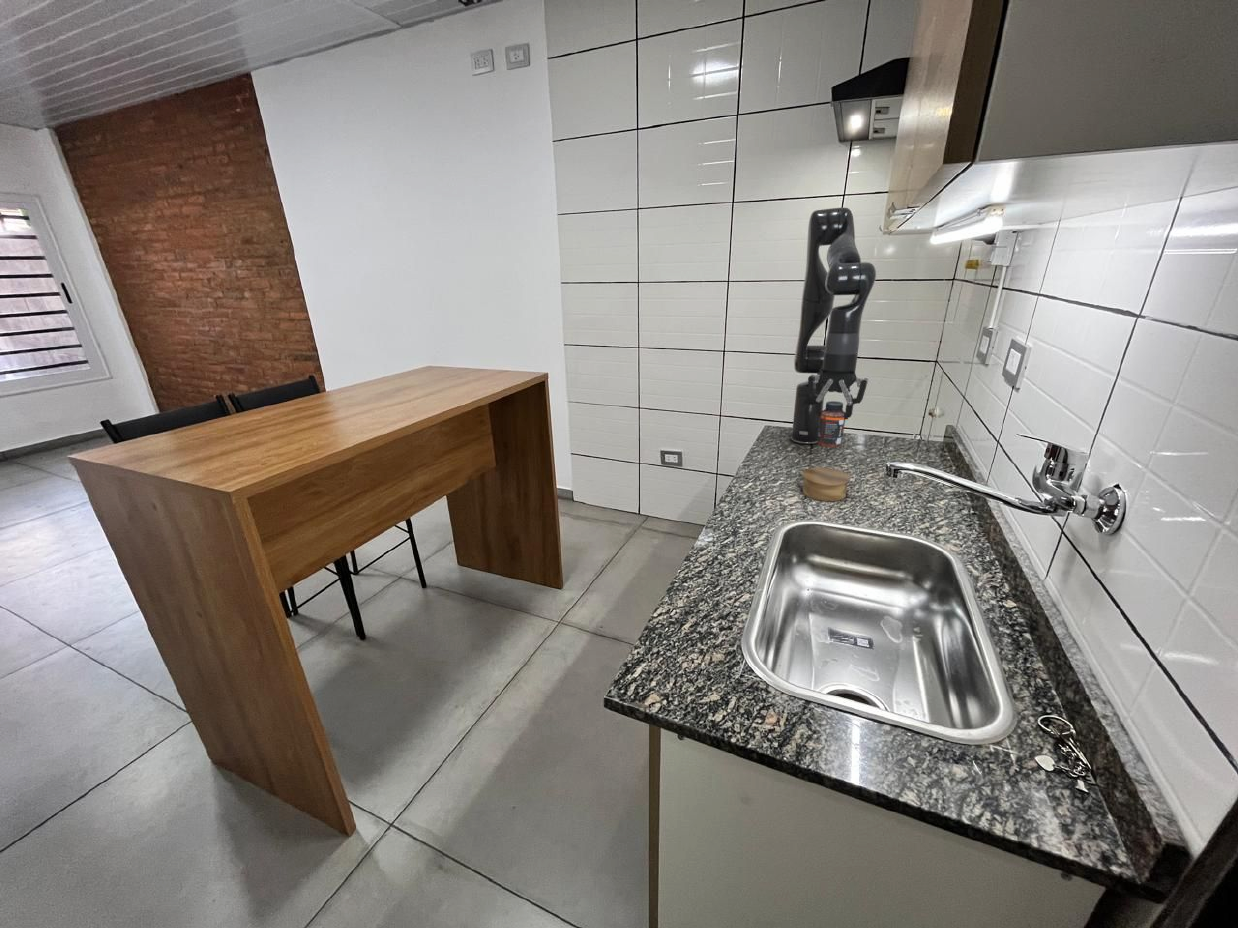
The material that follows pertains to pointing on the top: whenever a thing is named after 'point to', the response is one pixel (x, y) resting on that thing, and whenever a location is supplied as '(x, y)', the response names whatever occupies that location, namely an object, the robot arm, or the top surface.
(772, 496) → the top surface
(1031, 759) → the top surface
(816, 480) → the stand
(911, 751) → the top surface
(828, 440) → the supplement bottle
